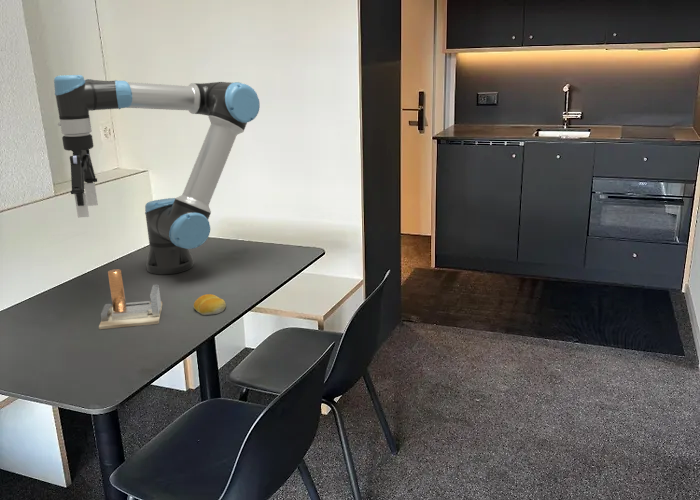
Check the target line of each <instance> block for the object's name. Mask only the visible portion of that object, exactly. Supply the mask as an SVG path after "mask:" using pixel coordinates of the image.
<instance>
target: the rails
mask: <svg viewBox="0 0 700 500" xmlns="http://www.w3.org/2000/svg"><path fill="white" fill-rule="evenodd" d="M150 303H151V300H145V301H135V302H126V306H134V305H146V304H150ZM112 306H113V305H112V303H105V304H104V305H103V308H102V309H101V313H100V319H101V320H102V321H108V320H109V317H110V315H111V312H112ZM145 317H148V310H147V309H146V310H135V311H124V312H113V313H112V319H113V320H124V319H134V318H145ZM101 320H100V321H101Z"/></svg>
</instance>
